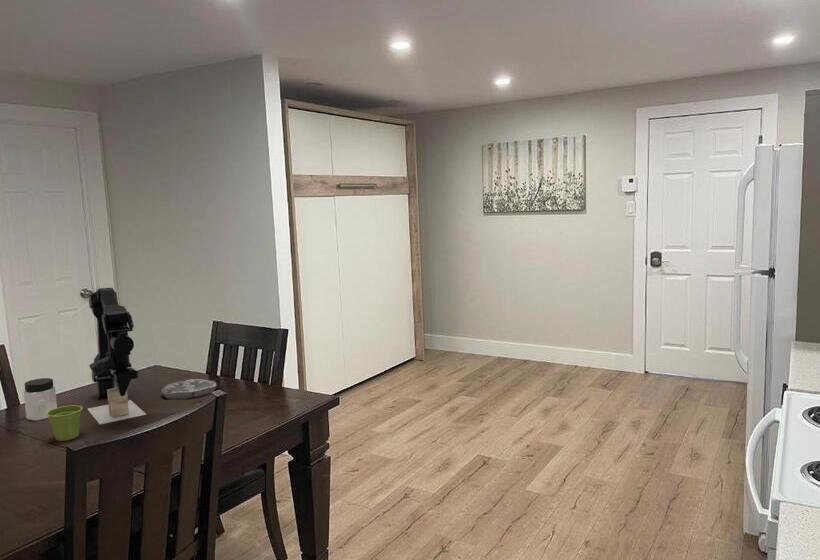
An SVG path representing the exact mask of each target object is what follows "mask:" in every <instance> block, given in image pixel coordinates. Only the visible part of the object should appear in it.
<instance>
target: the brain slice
mask: <svg viewBox="0 0 820 560" xmlns="http://www.w3.org/2000/svg"><path fill="white" fill-rule="evenodd" d="M216 388H217V383H216V381H215V380H208V379H204V378H203V379H199V378H194V379H193V378H192V379H186V380H184V381H183V380H181V381H180V380H179V381H178V380H177V381H173V382H171V383H168V384H166V385H164V387H163V388H161V389H160V392H159V393H161V395H162V396H163V397H165V398H166V399H168V400H174V399H176V400H186V399H192V398H199V397H203V396H206V395H210V394H209V393H210V392H211V391H213V392H214V391H215V390H216Z"/></svg>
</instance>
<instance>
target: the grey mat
mask: <svg viewBox="0 0 820 560" xmlns="http://www.w3.org/2000/svg"><path fill="white" fill-rule="evenodd" d="M128 408H129V415H126V416H121V417H116V418H112V417H111V416H110V415H109V406H108V404H104V405H100V406H99V405H98V406H93V407H89V408H87V410H88V412H89V413H90V414H91V415H92V417H93V418H94V419H95V420H96V421H97V423H98V425H104V424H109V423H114V422H119V421H123V420H127V419H133V418H137V417H141V416H146V415H147V413H145V411H144V410H142V409H141V408H140V407H139V406H138V405H137V404H136V403H135V402H133V401H132V400H131V399H128Z"/></svg>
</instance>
